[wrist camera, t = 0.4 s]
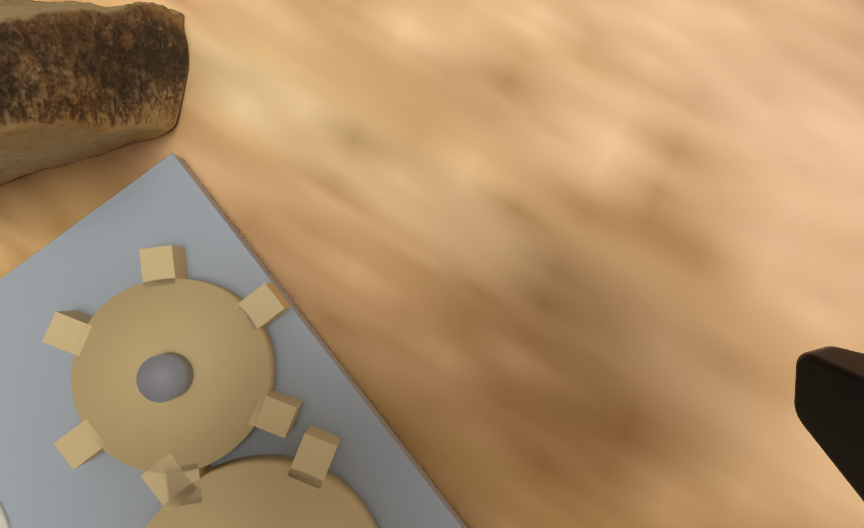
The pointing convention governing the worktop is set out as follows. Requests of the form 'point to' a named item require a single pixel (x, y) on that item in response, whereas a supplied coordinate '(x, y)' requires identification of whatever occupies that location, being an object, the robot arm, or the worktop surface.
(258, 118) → the worktop surface
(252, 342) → the gear board
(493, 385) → the worktop surface
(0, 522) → the pad
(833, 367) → the robot arm
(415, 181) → the worktop surface
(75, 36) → the rock
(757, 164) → the worktop surface
